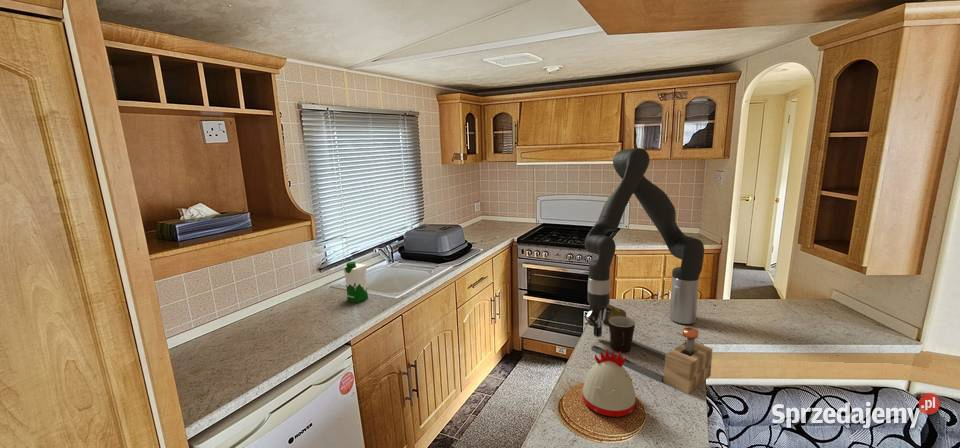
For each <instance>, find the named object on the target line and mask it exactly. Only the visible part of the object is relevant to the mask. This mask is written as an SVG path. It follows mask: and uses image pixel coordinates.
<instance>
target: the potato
mask: <svg viewBox="0 0 960 448" xmlns="http://www.w3.org/2000/svg"><path fill="white" fill-rule="evenodd" d="M607 307H609V308H611V309H612V310H611V312H610V315H609V317H608V319H607V321H606V323H608V324H609V321H608V320H609V318H611V317H615V316H621V317H627V312H626V311H625V309H624V310H623V309H622V308H619V307H616V306H614V305H611V304H610V303H609V304H608V305H607Z"/></svg>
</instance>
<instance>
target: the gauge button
mask: <svg viewBox="0 0 960 448" xmlns="http://www.w3.org/2000/svg"><path fill="white" fill-rule="evenodd" d="M682 336H683V337H684V338H685V340H684V343H685V352H684V354H685V355H688V356H692V355H693V354H694V343H695V339H698V338H699V330H698V329H696V328H693V327H683V329H682Z"/></svg>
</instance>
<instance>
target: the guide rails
mask: <svg viewBox="0 0 960 448" xmlns="http://www.w3.org/2000/svg"><path fill="white" fill-rule="evenodd" d="M590 347H591V349H590V350H591V351H592V352H594V353H597V354H598V355H600V352H602V353H603V355H604V356H605V355H606V350H607V349H604V348H602V347H600V346H597V345H595V344H594V345H592V346H590ZM631 347H633V348H636V349H638V350H641V351H643V352H645V353H647V354H650V355H652V356H654V357H657V358H660V359H661V360H664V361H665V355H666V354H667V353H666V352H663V351H661V350H658V349H655V348H654V347H652V346H651V347H650V346H648V345H645V344H643V343H641V342H638V341H636V340H633V339H632V344H631ZM608 352H609V356H610V357H611V355H612V351H609V350H608ZM614 355H615V357H616V358H617V357H618V355H617V354H615V353H614ZM624 358H625V357H622V356H621V359H624ZM622 366H623V367H626V368H629V369H631V370H633V371H634V372H635V371H636V372H637V373H639V374H641V375H643V376H647V377H648V378H650V379H653V380H656V381H657V382H660V383H664V374H661V373H658V372H656V371H654V370H651V369H649V368H648V367H644V366H642V365H640V364H638V363H636V362H633V361H631V360H629V359H627V358H626V360H625V362H624V364H623V365H622Z"/></svg>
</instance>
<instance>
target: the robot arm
mask: <svg viewBox="0 0 960 448" xmlns="http://www.w3.org/2000/svg"><path fill="white" fill-rule="evenodd" d="M612 165H613V168H614V170H615V172H616V174H617V175H618V176H619V177H620V178H621V181H620V182H619V185H618V186H617V187H616V188H615V190H614V191H613V192H612V193H611V194H610V196H608V198H607V200H606V201H605V203H604V205H603V207H602V209H601V211H600V214H599V217H598V220H597V221H596V222H595V224H594V225H593V226H592V228H591V229H590V230H589V232H588V233H587V235H586V237H585V240H584V249H585V250H586V252H588V253H591V254H594V255H597V256H598V259H596V260H595V259H594V260H591V261H590V262H589V265H588V280H587V302H588V303H587V304H589V308H588V313H587V314H584V319H585V320H586V322H587V324H588V325H589V326H590V327H593V335H594V337H596V338H599V337H601V336H602V333H603V326H604V324H607V322H606V321H607V319H608V317H609V315H610V312H611V310H612V309H611V308H609V307H607V305H608V304H610V302H611V301H610V299H611V295H610V294H611V282H610V278H611V277H610V276H611V275H610V274H611V273H610V271H611V265H612V261H613V258H614V256H615V252H616V248H617V247H616V246H617V245H616V242H615V240H614V239H613V237H612V236H608V235H607V233H610V232H615V231H616V230H618V228H619V225H620V223H621V220H622V218H623V216H624V212H625V210H626V208H627V206H628V203H629V201H630V199H631V197H633V195H634V196H635V198H636V199H637V201H638V202H639V203H640V205H641V207H642V208H643V210H644V212H645V214H646V215H647V216H648V217H649V219H650V220H651V222H652V223H653V225H654V226H655V227H656V229H657V230H658V232H659V233H660V235H661V237H662V239H663V241H664V244H665V245H666V246H667V248H668V251H669V252H670V254H671V255H672V256H673V257H675V258H677V259H679V260H681V263H680V266H678V267H674V268H673V269H672V273H671V289H670V306H669V318H670V320H671V321H673V322H676V323H679V324H689V325H691V324H694V323H696V321H697V312H698V311H697V310H698V298H699V297H698V295H699V283H700V280H699V279H700V274H701V272H702V270H703V263H704V258H705V257H704V256H705V245H704V243H703V241H702V240H701V239H699V238H696V237H693V236H688V235H685V234H684V233H683V231H682V230H681V229H680V227H679V226H678V224H677V222H676V219H677V218H676V217H677V216H676V214H677V212H676V208H675V206H674V204H673V203H672V201H671V199H670V197H669V196H668V195H667V194H666V192H665V191H663V189H662V188H660V187H659V186H657V185H656V184H655V183H653V182H652V181H650V180H649V179H648V178H646V177H645V174H646V171H647V170H648V167H649V165H650V155H649V153H648V152H647V150H646V149H644V148H641V147H634V148H626V149H622V150H619V151H617V152H616V153H615V154H614V156H613V158H612Z"/></svg>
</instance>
